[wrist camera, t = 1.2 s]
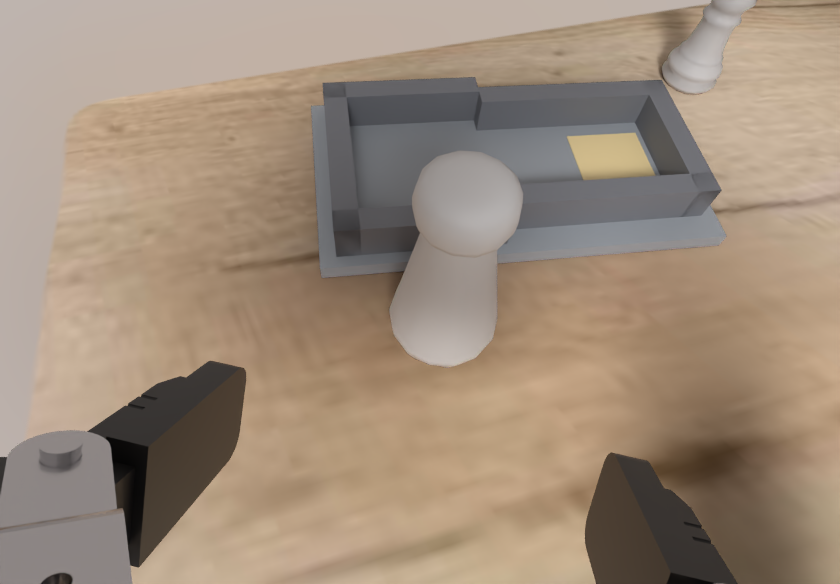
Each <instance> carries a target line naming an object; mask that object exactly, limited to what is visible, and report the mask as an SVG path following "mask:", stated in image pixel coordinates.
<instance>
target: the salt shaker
mask: <svg viewBox="0 0 840 584" xmlns="http://www.w3.org/2000/svg"><path fill="white" fill-rule="evenodd" d="M522 204H523V191H522V188H521V186H520V183H519V180H518V177H517V175H516V174H515V173H514V172H513V171H511V170H510V169H509V168H508V167H507V166H506V165H505V164H504V163H503V162H502V161H500V160H498V159H496V158H493V157H491V156H489V155H487V154H484V153H482V152H474V151H456V152H452V153H448V154H444V155H440V156H437V157H436V158H435V159H433V160H432V161H431V162H430V163H429V164H427V165H426V166H425V167H424V168H423V169H422V171H421V174H420V176H419V179H418V181H417V184H416V186H415V189H414V192H413V195H412V209H413V213H414V218H415V222H416V226H417V228H418V230H419V232H420V234H419V237H418V239H417V242H416V244H415V247H414V249H413V252H412V254H411V257H410V259H409V262H408V264H407V266H406V269H405V271H404V274H403V276H402V279H401V281H400V283H399V285H398V288H397V290H396V292H395V295H394V298H393V300H392V303H391V306H390V308H389V313H390V318H391V323H392V329H393V333H394V336H395V337H396V339H397V340H398V341H399V343H400V344H401V345H402V347H403V348H404V349H405V351H406V352H407V353H408V354H409V355H410V356H412V357H413V358H414V359H416V360H420V361H423V362H425V363H426V364H428V365H438V366H441V367H445V368H449V367H453V366H456V365H459V364H461V363H464V362H467V361H469V360H472V359H475V358H476V357H477V356H478V355H479V354H480V352H481V351H482V350H483V349H484V348H485V347H486V346H487V345H488V344H489V343H490V341H491V340H492V339H493V336H494V331H495V327H496V322H497V250H498V249H499V248H500V247H501V246H502V245H503V244H504V243H505V242H506V241H507V240H508V239H509V238H510V237H511V236H512V235H513V234H514V233H515V230H516V228H517V226H518V223H519V219H520V214H521V209H522Z"/></svg>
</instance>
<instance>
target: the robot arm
mask: <svg viewBox="0 0 840 584" xmlns="http://www.w3.org/2000/svg"><path fill="white" fill-rule="evenodd" d="M245 384H246V371H245V369H244V368H241V367H237V366H232V365H228V364H223V363H219V362H215V361H209V362H207V363H206V364H204V365H203V366H202V367H200V368H199V369H197V370H196V371H195V372H193V373H192V374H191V375H189V376H188V377H187V378H185V377H181V376H180V377H177V378H174V379H170V380H167V381H164V382H161V383H158V384H156V385H155V386H153V387H152V388H150V389H149V390H147V391H146V392H145V393H143V394H142V395H141V397H137V398H136V399H134V400H133V401H131V402H130V403H128V406H124V407H123V408H121V409H120V410H118V411H117V412H115V413H114V414H112V415H111V416H109V417H108V418H106V419H105V420H104V421H102V422H101V423H99V424H98V425H96V426H95V427H93V428H92V429H90V430H89V431H87V432H86V431H71V430H70V431H57V432H51V433H46V434H42V435H39V436H35V437H33V438H30V439H28V440H26V441H24V442H22V443H20V444H19V445H17V446H16V447H15V448H14V449H12V450H11V452H10V453H9V455H8V457H0V584H132V577H131V568H130V565H131V566H135V567H140V565H141V564H142V563H143V562H144V561H145V560H146V558H147V557H148V556H149V555H150V554H151V552H152V551H153V550H154V549H155V548H156V546H157V545H158V544H159V543H160V542H161V541H162V539H163V538H164V537H165V536H166V535H167V533H168V532H169V531H170V530H171V529H172V527H173V526H174V525H175V524H176V523H177V522H178V520H179V519H180V518H181V517H182V516H183V514H184V513H185V512H186V511H187V510H188V508H189V507H190V506H191V505H192V504H193V503H194V501H195V500H196V499H197V498H198V497H199V495H200V494H201V493H202V492H203V491H204V489H205V488H206V487H207V486H208V485H209V484H210V482H211V481H212V480H213V479H214V478H215V476H216V475H217V474H218V473H219V472H220V470H221V469H222V468H223V467H224V466H225V465H226V463H227V462H228V461H229V459H230V458H231V456H232V454H233V452H234V450H235V447H236V444H237V441H238V437H239V432H240V424H241V416H242V408H243V400H244V392H245ZM585 544H586V549H587V552H588V556H589V559H590V563H591V567H592V570H593V574H594V577H595V581H596V584H737V582H736V580H735V579H734V577H733V576H732V574H731V572H730V571H729V569H728V568H727V566H726V564H725V563H724V561H723V559H722V558H721V556H720V555H719V553H718V551H717V550H716V548H715V547H714V545H712V544H711V540H710V538H709V537H708V535H707V534H706V532H705V530H704V529H701V524H700V522H699V521H698V519H697V517H696V516H695V514H694V513H693V511H692V509H691V508H690V507H689V506H688V505H687V504H686V503H685V502H684V501H682V500H681V499H680V498H679V497H678V496H677V495H676V494H675V493H674V492H672V491H671V490H668V489H664V487H663V486H662V484H661V482H660V481H659V479H658V477H657V475H656V474H655V472H654V470H653V468H652V467H651V465H650V463H649V462H648V461H646V460H642V459H637V458H633V457H629V456H624V455H620V454H615V453H610V454H609V455H608V456H607V457H606V459H605V462H604V464H603V468H602V471H601V474H600V477H599V480H598V484H597V487H596V490H595V493H594V496H593V500H592V503H591V506H590V509H589V512H588V516H587V520H586V527H585Z"/></svg>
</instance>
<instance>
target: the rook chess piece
mask: <svg viewBox="0 0 840 584" xmlns="http://www.w3.org/2000/svg"><path fill="white" fill-rule="evenodd" d="M756 2H757V0H712V1H711V3H710V5H709V6H707V7H705V8H704V10H703V14H704V16H703V17H702V19H701V21H700V23H699V24H698V25H697V27H696V28H695V30H694V31H693V32H692V34H691V35H690V36H689V38H688V39H687V40H685V41H684V42H682V43H681V45H680V46H678V47H676V48H674V49H673V50H672V51H671V52H670V54H669V56H668V60H667V61H665V62H664V64H663V66H662V72H663V77H664V80H665V81H666V82H667V84H668V85H669V86H671V87H672V88H673V89H675V90H677V91H679V92H682V93H684V94H692V95H695V94H702V93H704V92H707V91H708V90H710V89H712V88H713V87H714V86H715V84H716V79H717V78H719V76H720V74H721V71H722V68H723V66H722V60H723V55H722V54H723V51H724V48H725V45H726V43H727V41H728V38H729V36H730V34H731V33H732V31H733V29H734V28H735V27H736V26H738V25H740V23H741V21H742V20H741V15H742V14H743V12H745V11H746V10H748V9H750V8H752V7H754V6H755V4H756Z"/></svg>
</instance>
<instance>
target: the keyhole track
mask: <svg viewBox="0 0 840 584" xmlns="http://www.w3.org/2000/svg"><path fill="white" fill-rule="evenodd" d="M323 95H324V105H322V106H311V113H312V131H313V149H314V168H315V186H316V204H317V222H318V240H319V258H320V271H321V277H322V278H327V277H339V276H351V275H363V274H375V273H388V272H400V271H405V269H406V266H407V264H408V262H409V259H410V257H411V254H412V252H413V249H414V247H415V244H416V242H417V239H418V237H419V234H420V232H419V230H418V228H417V226H416V222H415V218H414V213H413V209H412V195H413V192H414V189H415V186H416V184H417V181H418V179H419V176H420V174H421V171H422V169H423V168H424V167H425V166H426V165H427V164H429V163H430V162H431V161H432V160H433V159H435V158H436V157H437V156H440V155H444V154H448V153H452V152H456V151H474V152H482V153H484V154H487V155H489V156H491V157H493V158H496V159H498V160H500V161H502V162H503V163H504V164H505V165H506V166H507V167H508V168H509V169H510V170H511V171H513V172H514V173H515V174H516V175H517V177H518V180H519V183H520V186H521V188H522V191H523V204H522V209H521V214H520V219H519V223H518V226H517V228H516V230H515V233H514V234H513V235H512V236H511V237H510V238H509V239H508V240H507V241H506V242H505V243H504V244H503V245H502V246H501V247H500V248H499V249H498V250H497V263H510V262H522V261H534V260H546V259H558V258H571V257H583V256H595V255H607V254H619V253H632V252H644V251H656V250H668V249H680V248H693V247H705V246H717V245H719V244H720V243H721V242H722V241H723V240H724V239H725V238H726V237H727V236H726V234H725V232H724V230H723V228H722V226H721V224H720V223H719V221H718V219H717V217H716V215H715V213H714V211H713V209H712V207H711V205H710V204H711V203H712V202H713V200H714V199H715V198H716V197H717V195H718V194H719V193H720V192H721V188H720V186H719V184H718V183H717V181H716V179H715V177H714V175H713V173H712V172H711V170H710V168H709V166H708V164H707V162H706V161H705V159H704V157H703V155H702V153H701V151H700V150H699V148H698V146H697V144H696V142H695V140H694V139H693V137H692V135H691V133H690V131H689V129H688V128H687V126H686V124H685V122H684V120H683V118H682V117H681V115H680V113H679V111H678V109H677V107H676V106H675V104H674V102H673V100H672V98H671V96H670V95H669V93H668V91H667V89H666V87H665V85H664V84H663V82H662V80H645V81H621V82H596V83H571V84H546V85H522V86H497V87H478V86H477V82H476V79H475V77H468V78H441V79H415V80H389V81H363V82H336V83H323Z"/></svg>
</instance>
